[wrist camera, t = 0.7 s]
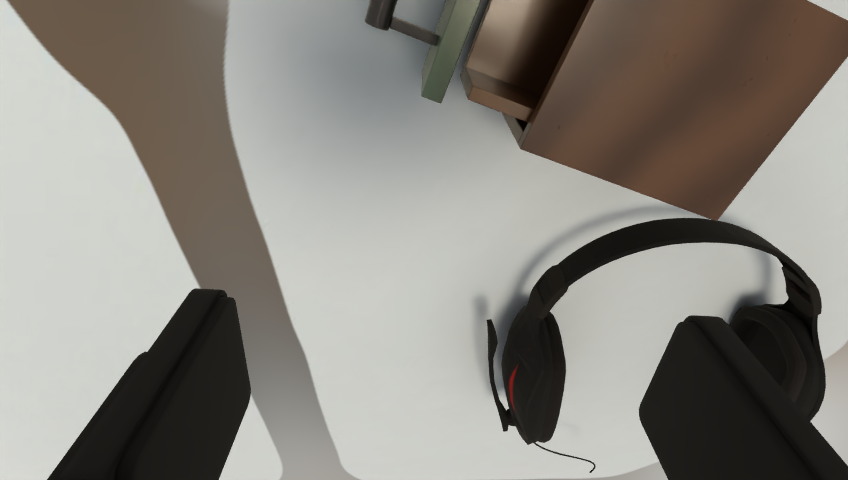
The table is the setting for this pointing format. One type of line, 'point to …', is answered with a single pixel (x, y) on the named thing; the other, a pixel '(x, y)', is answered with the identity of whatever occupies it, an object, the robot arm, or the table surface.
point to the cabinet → (683, 93)
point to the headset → (756, 326)
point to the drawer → (491, 48)
